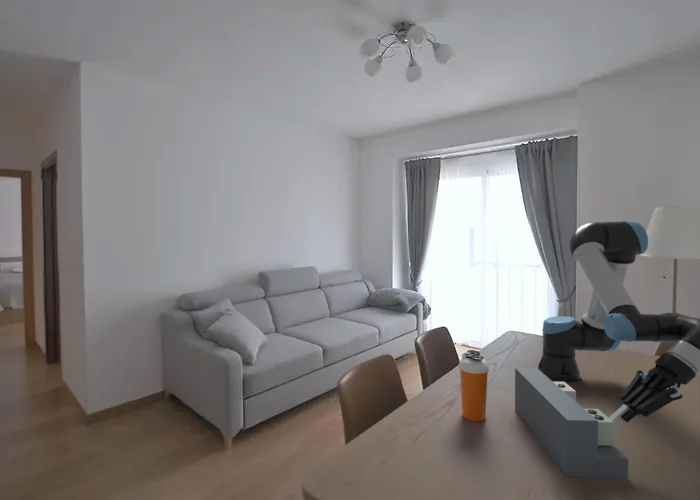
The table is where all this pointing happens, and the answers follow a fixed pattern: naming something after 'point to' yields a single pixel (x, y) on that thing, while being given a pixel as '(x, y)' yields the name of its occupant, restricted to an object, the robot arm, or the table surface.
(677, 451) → the table surface
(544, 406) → the grey stepped stand
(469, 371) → the shaker bottle
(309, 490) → the table surface
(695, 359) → the robot arm
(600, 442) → the key two
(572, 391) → the key one
